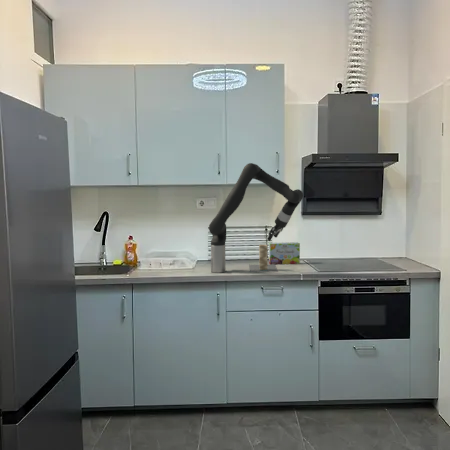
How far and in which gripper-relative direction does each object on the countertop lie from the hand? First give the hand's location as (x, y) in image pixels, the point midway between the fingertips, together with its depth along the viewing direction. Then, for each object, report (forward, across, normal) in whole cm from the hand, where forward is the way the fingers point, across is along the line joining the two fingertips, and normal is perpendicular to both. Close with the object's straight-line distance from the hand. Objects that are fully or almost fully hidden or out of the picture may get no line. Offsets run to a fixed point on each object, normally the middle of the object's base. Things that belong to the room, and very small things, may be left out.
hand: (271, 238), depth 269 cm
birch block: (+21, +2, +6) cm, 22 cm away
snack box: (+27, -30, +8) cm, 41 cm away
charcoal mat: (+25, -4, +4) cm, 25 cm away
